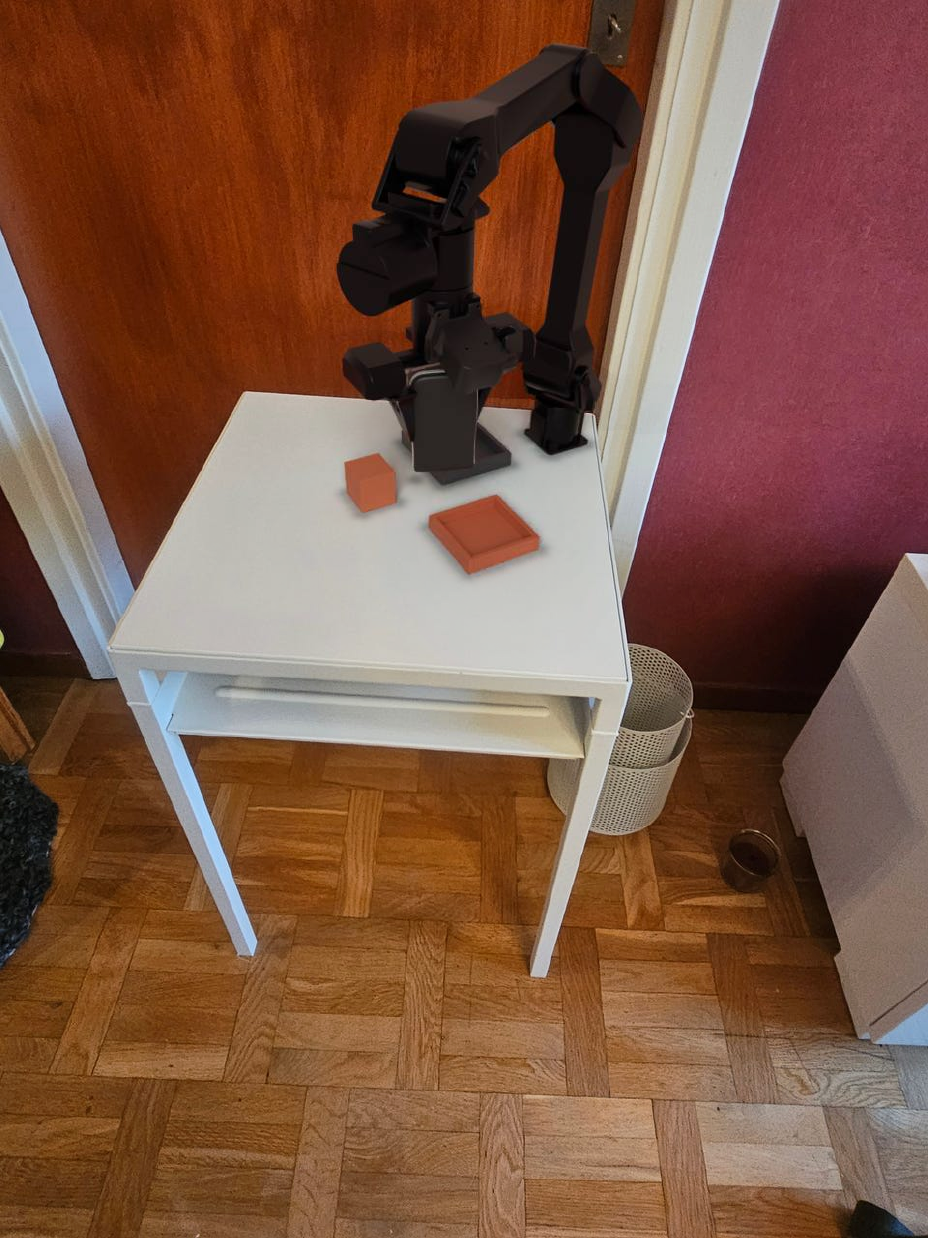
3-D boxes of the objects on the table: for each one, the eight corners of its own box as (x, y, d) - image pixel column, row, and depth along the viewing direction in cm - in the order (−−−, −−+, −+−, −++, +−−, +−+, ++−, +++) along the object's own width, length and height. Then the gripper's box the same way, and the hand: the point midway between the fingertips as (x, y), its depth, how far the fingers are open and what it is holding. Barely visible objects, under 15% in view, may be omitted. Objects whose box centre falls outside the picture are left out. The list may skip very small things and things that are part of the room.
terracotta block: (380, 483, 93) (378, 452, 89) (396, 503, 90) (395, 471, 87) (346, 493, 91) (343, 461, 88) (362, 513, 88) (359, 481, 85)
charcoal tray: (467, 424, 103) (468, 412, 102) (510, 465, 97) (511, 452, 95) (401, 442, 100) (401, 429, 98) (441, 485, 93) (442, 472, 92)
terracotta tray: (495, 506, 90) (496, 493, 89) (538, 549, 85) (540, 536, 83) (428, 528, 87) (428, 515, 85) (468, 574, 81) (469, 561, 80)
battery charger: (471, 450, 83) (473, 353, 75) (476, 470, 80) (479, 372, 72) (408, 454, 82) (404, 357, 74) (412, 475, 80) (407, 376, 71)
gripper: (388, 336, 59) (396, 497, 70) (578, 292, 66) (558, 445, 77) (332, 285, 65) (347, 440, 77) (510, 250, 72) (500, 396, 84)
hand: (441, 431), depth 78 cm, fingers closed on battery charger, 7 cm apart
